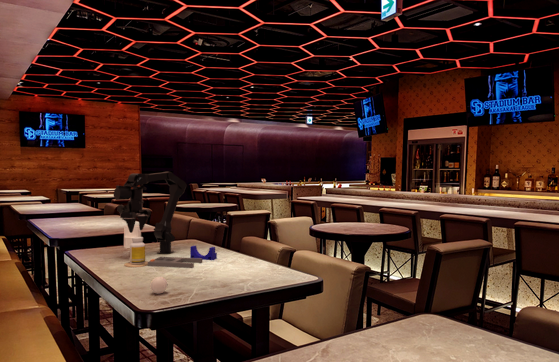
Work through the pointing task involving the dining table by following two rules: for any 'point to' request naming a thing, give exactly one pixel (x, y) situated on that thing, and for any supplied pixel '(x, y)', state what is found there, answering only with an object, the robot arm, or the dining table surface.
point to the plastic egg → (158, 285)
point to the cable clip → (209, 256)
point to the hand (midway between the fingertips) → (136, 231)
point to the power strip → (174, 262)
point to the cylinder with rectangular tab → (130, 235)
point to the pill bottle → (137, 251)
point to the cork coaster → (136, 264)
